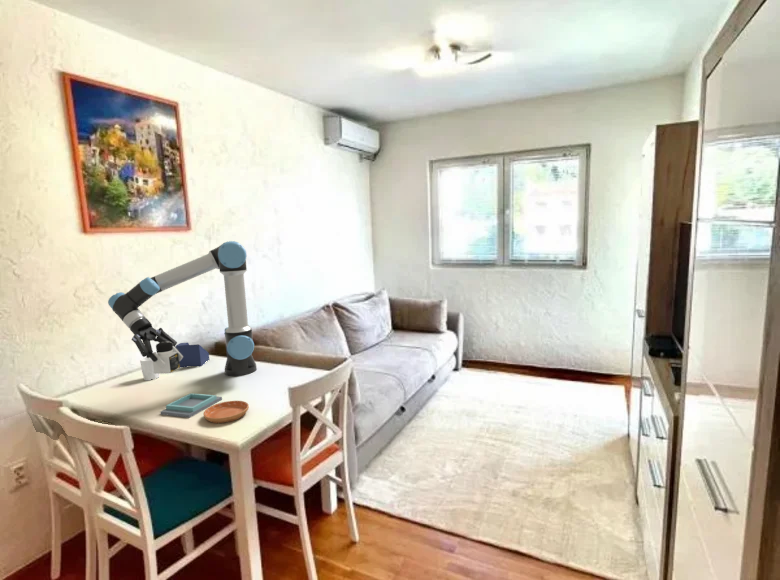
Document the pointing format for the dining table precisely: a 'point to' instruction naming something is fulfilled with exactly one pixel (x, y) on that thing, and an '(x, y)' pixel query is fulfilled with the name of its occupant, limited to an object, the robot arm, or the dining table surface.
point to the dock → (190, 405)
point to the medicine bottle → (166, 358)
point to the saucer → (226, 411)
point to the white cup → (148, 369)
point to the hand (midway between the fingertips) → (172, 362)
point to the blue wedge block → (192, 355)
